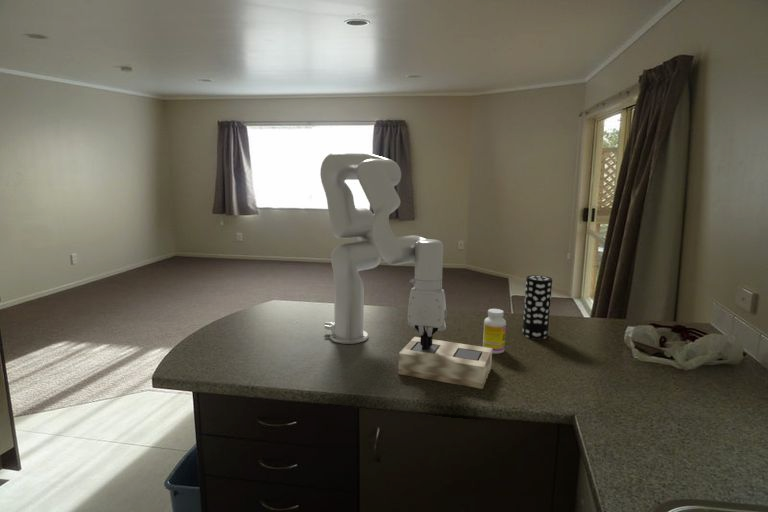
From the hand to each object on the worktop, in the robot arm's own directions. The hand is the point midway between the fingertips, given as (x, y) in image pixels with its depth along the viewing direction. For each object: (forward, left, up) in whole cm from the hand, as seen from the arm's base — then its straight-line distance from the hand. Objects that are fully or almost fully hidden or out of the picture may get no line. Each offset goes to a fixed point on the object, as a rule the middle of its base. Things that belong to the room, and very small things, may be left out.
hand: (426, 347), depth 134 cm
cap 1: (0, 0, -4) cm, 4 cm away
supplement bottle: (+16, +21, -6) cm, 27 cm away
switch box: (+6, 0, -6) cm, 8 cm away
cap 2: (+12, 0, -4) cm, 12 cm away
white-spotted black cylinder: (+27, +41, -6) cm, 49 cm away
